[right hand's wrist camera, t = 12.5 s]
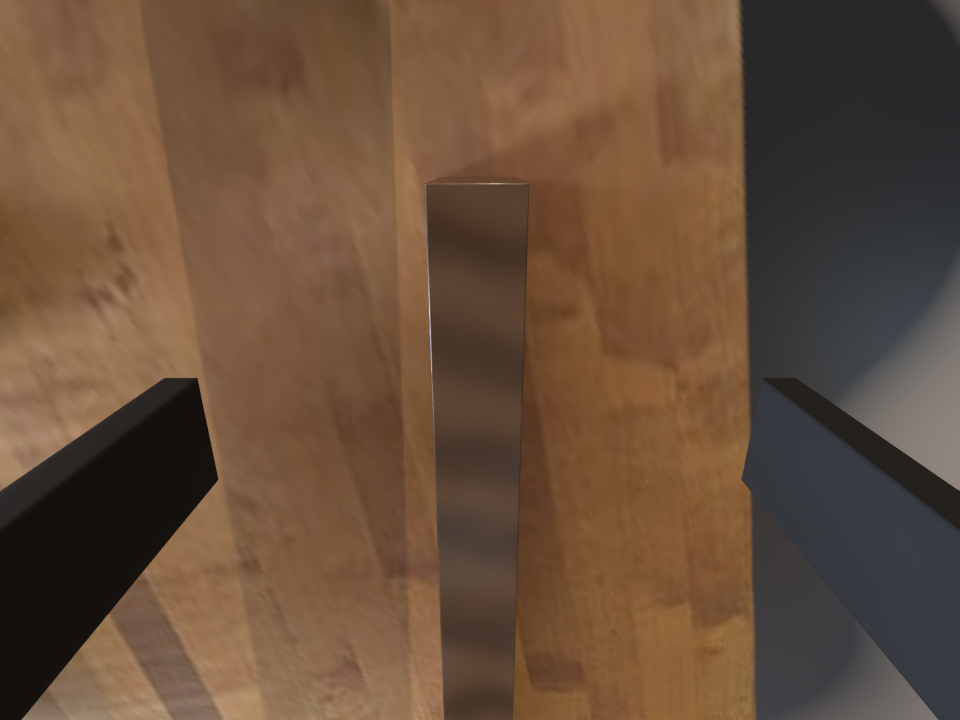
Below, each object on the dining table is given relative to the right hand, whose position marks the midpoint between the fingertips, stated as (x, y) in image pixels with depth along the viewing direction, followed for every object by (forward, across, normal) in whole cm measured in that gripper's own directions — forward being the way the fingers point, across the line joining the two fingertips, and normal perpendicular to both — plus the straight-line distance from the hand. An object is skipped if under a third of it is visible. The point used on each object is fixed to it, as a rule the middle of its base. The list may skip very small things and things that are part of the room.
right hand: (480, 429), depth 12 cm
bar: (+24, 0, -37) cm, 44 cm away
